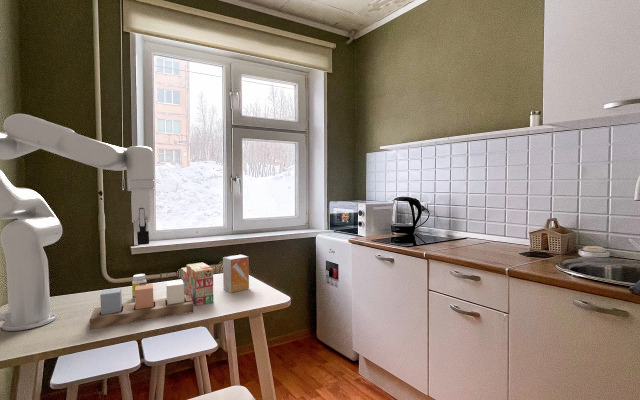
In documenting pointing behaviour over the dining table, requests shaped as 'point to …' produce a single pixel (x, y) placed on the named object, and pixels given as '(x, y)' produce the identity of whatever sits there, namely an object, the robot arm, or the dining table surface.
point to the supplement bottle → (138, 282)
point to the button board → (140, 313)
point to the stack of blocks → (198, 283)
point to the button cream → (175, 292)
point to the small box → (236, 273)
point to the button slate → (111, 301)
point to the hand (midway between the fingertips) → (143, 244)
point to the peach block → (144, 296)
